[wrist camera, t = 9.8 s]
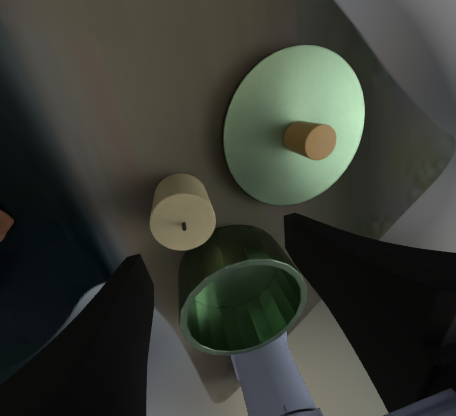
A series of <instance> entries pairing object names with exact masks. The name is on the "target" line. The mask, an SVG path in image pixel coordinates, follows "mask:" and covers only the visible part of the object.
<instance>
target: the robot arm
mask: <svg viewBox="0 0 456 416" xmlns="http://www.w3.org/2000/svg"><path fill="white" fill-rule="evenodd" d="M284 230H285V248H286V250H287V252H288V254H289V255H290V257H291V259H292V260H293V262H294V264H295V265H296V266H297V268H298V269H299V270H300V272H301V273H302V274H303V276H304V277H305V278H306V279H307V281H308V282H309V283H310V284H311V286H312V287H313V288H314V290H315V291H316V292H317V293H318V295H319V296H320V297H321V298H322V300H323V301H324V303H325V304H326V305H327V307H328V308H329V310H330V311H331V313H332V314H333V316H334V318H335V319H336V321H337V322H338V324H339V326H340V327H341V329H342V330H343V332H344V333H345V335H346V337H347V339H348V340H349V342H350V344H351V345H352V347H353V349H354V350H355V352H356V354H357V356H358V357H359V359H360V361H361V362H362V364H363V366H364V368H365V370H366V371H367V373H368V375H369V377H370V379H371V380H372V382H373V384H374V386H375V388H376V390H377V392H378V394H379V395H380V397H381V399H382V401H383V403H384V405H385V407H386V409H387V411H388V412H389V414H386V415H384V416H456V253H451V252H443V251H435V250H427V249H420V248H413V247H408V246H402V245H397V244H392V243H387V242H382V241H378V240H375V239H371V238H367V237H363V236H359V235H356V234H353V233H350V232H346V231H343V230H340V229H338V228H335V227H332V226H329V225H326V224H324V223H321V222H319V221H316V220H313V219H311V218H308V217H306V216H303V215H300V214H297V213H293V214H289V215H285V216H284ZM153 311H154V285H153V282H152V280H151V278H150V275H149V273H148V271H147V268H146V266H145V264H144V262H143V259H142V257H141V255H140V254H137V255H133V256H130V257H127V258H126V259H125V260H124V261H123V262H122V263H121V265H120V266H119V267H118V268H117V270H116V271H115V272H114V273H113V275H112V276H111V277H110V278H109V280H108V281H107V282H106V283H105V285H104V286H103V287H102V288H101V290H100V291H99V292H98V293H97V294H96V295H95V296H94V298H93V299H92V300H91V301H90V302H89V303H88V304H87V306H86V307H85V308H84V309H83V310H82V311H81V312H80V313H79V314H78V316H77V317H76V318H75V319H74V320H73V321H72V322H71V323H70V324H69V325H68V326H67V327H66V328H65V329H64V330H63V331H62V332H61V333H60V334H59V335H58V336H57V337H55V338H54V339H53V340H52V341H51V342H50V343H49V344H48V345H47V346H46V347H44V348H43V349H42V350H41V351H40V352H39V353H38V354H37V355H35V356H34V357H33V358H32V359H31V360H30V361H29V362H28V363H26V364H25V365H24V366H23V367H22V368H21V369H19V370H18V371H17V372H16V373H15V374H13V375H12V376H11V377H10V378H8V379H7V380H6V381H5V382H3V383H2V384H1V385H0V416H146V387H147V359H148V351H149V343H150V334H151V327H152V319H153ZM231 359H232V363H233V366H234V370H235V374H236V377H237V379H238V380H240V383H241V387H242V391H243V396H244V400H245V404H246V407H247V412H248V416H323V414H322V412H321V410H320V408H316V406H315V403H314V401H313V399H312V397H311V395H310V393H309V391H308V389H307V386H306V384H305V382H304V380H303V378H302V376H301V374H300V372H299V370H298V367H297V365H296V363H295V361H294V359H293V357H292V355H291V352H290V351H289V348H288V346H287V331H286V332H285V333H284V334H283V335H282V336H280V337H279V338H278V339H276V340H275V341H273V342H271V343H269V344H267V345H266V346H264V347H262V348H259V349H256V350H254V351H251V352H248V353H243V354H236V355H231Z"/></svg>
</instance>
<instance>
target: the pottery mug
mask: <svg viewBox="0 0 456 416" xmlns="http://www.w3.org/2000/svg"><path fill="white" fill-rule="evenodd" d="M13 223H14V220H13V218H11V217H10V216H9V215H8V214H7V213H5V212H3V211H1V210H0V242H1V241H2V240H3V239H4V237H5V235H6V233H7V231H8V230H9V229H10V227H11V226H12V224H13Z"/></svg>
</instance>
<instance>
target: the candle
mask: <svg viewBox="0 0 456 416" xmlns="http://www.w3.org/2000/svg"><path fill="white" fill-rule="evenodd" d="M215 224H216V217H215V213H214V210H213V207H212V205H211V202H210V199H209V197H208V194H207V192H206V189H205V187H204V185H203V184H202V182H201V181H200V180H198V179H197V178H196V177H194V176H192V175H189V174H185V173H177V174H172V175H170V176H167V177H166V178H164V179H163V180H162V181H161V182H160V183H159V184H158V186H157V188H156V190H155V194H154V200H153V205H152V210H151V215H150V230H151V232H152V235H153V236H154V238H155V239H156V240H157V241H158V242H159V243H160V244H162V245H163V246H165V247H167V248H170V249H173V250H190V249H193V248H196V247H198V246H200V245H202V244H203V243H205V242H206V241H207V240H208V239H209V238H210V236H211V235H212V233H213V231H214V228H215Z"/></svg>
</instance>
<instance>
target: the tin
mask: <svg viewBox="0 0 456 416" xmlns="http://www.w3.org/2000/svg"><path fill="white" fill-rule="evenodd" d="M178 294H179V325H180V328H181V331H182V333H183V335H184V338H185V340H186V341H187V342H188V343H190V344H191V345H192V346H193V347H194V348H195V349H197V350H200V351H203V352H205V353H208V354H211V355H224V356H229V355H236V354H243V353H248V352H251V351H254V350H256V349H259V348H262V347H264V346H266V345H267V344H269V343H271V342H273V341H275V340H276V339H278V338H279V337H280V336H282V335H283V334H284V333H285V332H286V331H288V330H289V329H290V328H291V327H292V326H293V324H294V323H295V322H296V320H297V319H298V318H299V316H300V315H301V314H302V311H303V308H304V306H305V303H306V297H307V287H306V284H305V282H304V280H303V278H302V276H301V274H300V272H299V271H298V270H297V268H296V267H295V266H294V264H293V263H292V262H291V260H290V259H289V258H288V256H287V255H286V254H285V252H284V251H283V250H282V248H281V247H280V246H279V244H278V243H277V242H276V241H275V240H274V239H273V238H272V237H271V236H270V235H269V234H268V233H266V232H265V231H263V230H261V229H259V228H256V227H252V226H246V225H232V226H226V227H222V228H219V229H216V230H214V231H213V233H212V235H211V236H210V238H209V239H208V240H207V241H206V242H205V243H203V244H202V245H200V246H198V247H196V248H193V249H190V250H187V252H186V253H185V255H184V257H183V259H182V261H181V263H180V267H179V274H178Z"/></svg>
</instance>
